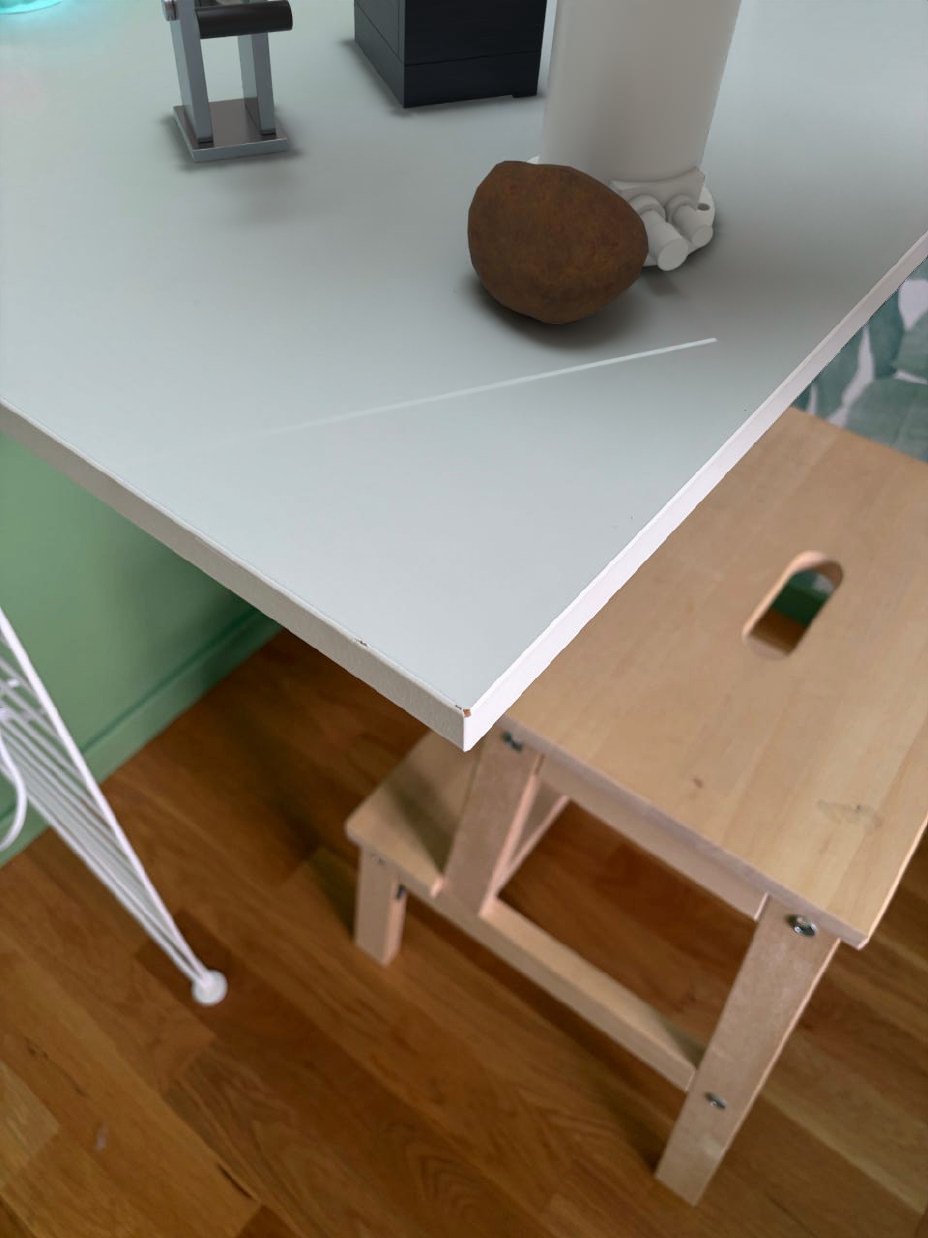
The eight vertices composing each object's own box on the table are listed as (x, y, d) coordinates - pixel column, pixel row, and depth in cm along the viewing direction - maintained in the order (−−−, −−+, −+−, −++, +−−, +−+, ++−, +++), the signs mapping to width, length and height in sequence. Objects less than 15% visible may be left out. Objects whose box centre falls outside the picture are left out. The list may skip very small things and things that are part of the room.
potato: (485, 252, 60) (497, 117, 54) (647, 297, 58) (678, 162, 52) (437, 321, 56) (444, 182, 49) (610, 371, 54) (639, 233, 48)
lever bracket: (288, 153, 66) (276, -16, 58) (195, 166, 64) (169, -7, 56) (264, 110, 69) (249, -56, 61) (175, 121, 67) (148, -48, 60)
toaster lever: (295, 41, 55) (289, -11, 54) (203, 51, 54) (194, -2, 52) (255, 19, 63) (248, -28, 61) (172, 26, 61) (164, -21, 60)
